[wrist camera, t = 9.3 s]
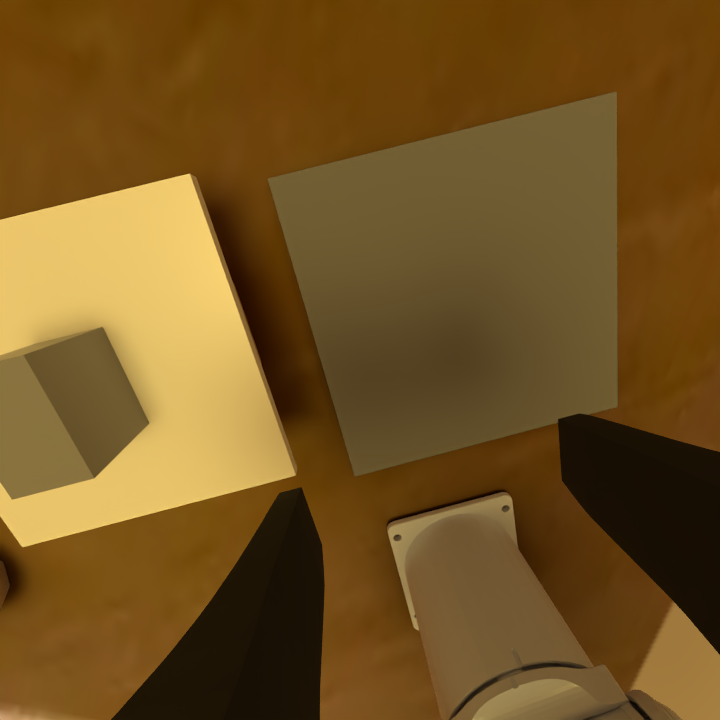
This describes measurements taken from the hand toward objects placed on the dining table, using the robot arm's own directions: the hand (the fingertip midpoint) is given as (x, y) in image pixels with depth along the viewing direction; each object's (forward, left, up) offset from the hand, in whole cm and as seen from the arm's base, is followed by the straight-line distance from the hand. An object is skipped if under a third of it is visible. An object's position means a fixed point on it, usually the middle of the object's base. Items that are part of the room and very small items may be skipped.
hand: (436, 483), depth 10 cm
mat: (+2, -5, -10) cm, 11 cm away
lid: (+4, +11, -6) cm, 13 cm away
